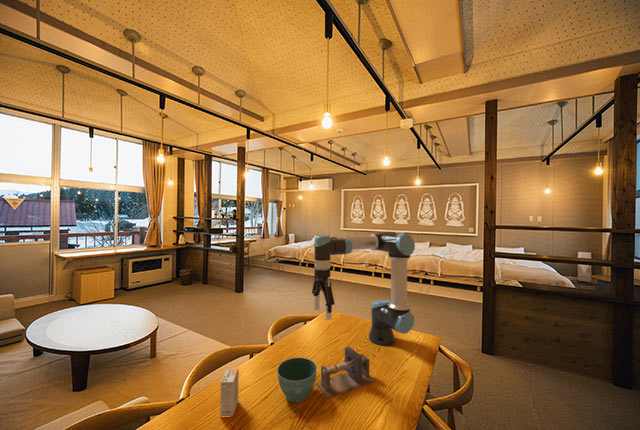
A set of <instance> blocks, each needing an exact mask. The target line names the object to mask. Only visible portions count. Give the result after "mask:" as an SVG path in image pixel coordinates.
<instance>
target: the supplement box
mask: <svg viewBox="0 0 640 430" xmlns="http://www.w3.org/2000/svg"><path fill="white" fill-rule="evenodd" d="M239 375H240V374H239V368H227V369H226V370H225V372H224V375H223V376H222V378H221V381H220V403H219V404H220V408H219V409H220V413H219V414H220V415H219V417H220V416H233V415H234V416H235V413H236V411H237V406H238V403H239ZM234 412H235V413H234ZM234 416H233V417H234Z"/></svg>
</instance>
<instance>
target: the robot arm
mask: <svg viewBox="0 0 640 430" xmlns="http://www.w3.org/2000/svg"><path fill="white" fill-rule="evenodd" d="M313 244H314V245H313V247H314V248H313V249H314V262H313V264H314V271H313V272H314V281H313V284H312V285H313V286H312V289H311V290H312V291H311V293H312V295H313V310H314V311H318V310H320V305H321V304H320V302H321V301H320V297H321V295H320V292H322V293H323V296H324V300H325V320H326V321H330V320H332V315H333V314H332V313H333V306H334V305H335V304H336V303H335V298H334V294H333V288H332V282H331V281H328V278H330V277H331V269H330V268H331V257H332V256H337V255H338V256H339V255H349V254H351V253H352V251H355V250H357V251H358V250H371V251H381V252H385V253H388V258H389V259H390V262H391V263H390V300H388V299H377V300H373V301H372V303H371V327H370V330H369V333H368V340H369V341H370V342H371V343H373V344H375V345H379V346H391V345H393V344H395V341H396V340H395V335H394V331H395V332H397V333H400V334H404V335H405V334H408V333H409V332H411V330H412V329H413V328H414V325H415V316H414V315H413V313H411V309H410V308H411V307H410V305H409V304H408V303H407V302H408V260H410V259H411V255H413V253H414V252H415V248H416V244H415V241H414V239H413V237H412V236H411V235H410V234H408V233H404V232H388V231H387V232H380V233H379V232H378V233H371V234H370V235H365V236H364V235H362V236H361V235H360V236H359V235H356V236H335V237H334V236H333V237H332V236H330V235H326V234H325V235H316V236H314V243H313ZM393 330H394V331H393Z"/></svg>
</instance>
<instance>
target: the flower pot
mask: <svg viewBox="0 0 640 430" xmlns="http://www.w3.org/2000/svg"><path fill="white" fill-rule="evenodd" d="M317 369H318V367H317V364H316V363H315V362H314V361H313V360H312V359H309V358H306V357H291V358H288V359H286V360H283V361H281V362H280V364H279V365H278V367H277V370H276V371H277V372H276V373H277V380H278V384H279V387H280V389H281V391H282V393H283V394H284V395H285V398H286V400H287V401H289V402H290V403H296V404H297V403H301V402H304V401H306V399H308V397H309V394H310V392H311V391H312V389H313V387H314V385H315V382H316V377H317Z"/></svg>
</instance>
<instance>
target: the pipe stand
mask: <svg viewBox="0 0 640 430" xmlns="http://www.w3.org/2000/svg"><path fill="white" fill-rule="evenodd" d="M360 355H361V356H362V380H361V381H359V382H357V381H356V380H355V379H354V378H353V377H352V376H351V375H350V374H349V373H348V372H347V371H346V370H345V369H348V368H351V367H354V360H352V361H349V362H345V361H344V362H343V363H339V364H334V365H331V366H330V367H326V366H325V365H322V366H320V372H321V373H320V375H321V376H320V377H321V378H320V381H318V382H316V386H317V387H318V389H319V390H320V391H321V393H322V394H323V395H324V396H325V398H326V399H327V400H330V399H333V398H335V397H338V396H340V395H342V394H346V393H347V392H350V391H353V390H356V389H358V388H361V387H364V386H366V385H369V384H372V383H374V382H375V380H376V379H375V378H374V377H372V375H370V358H368V357H367V356H365V355H364V354H363V353H361V354H360ZM343 371H346V372H345V373H341V374H339V375H336V376H333V377H331V375H334V374H338V373H339V372H343Z"/></svg>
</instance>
